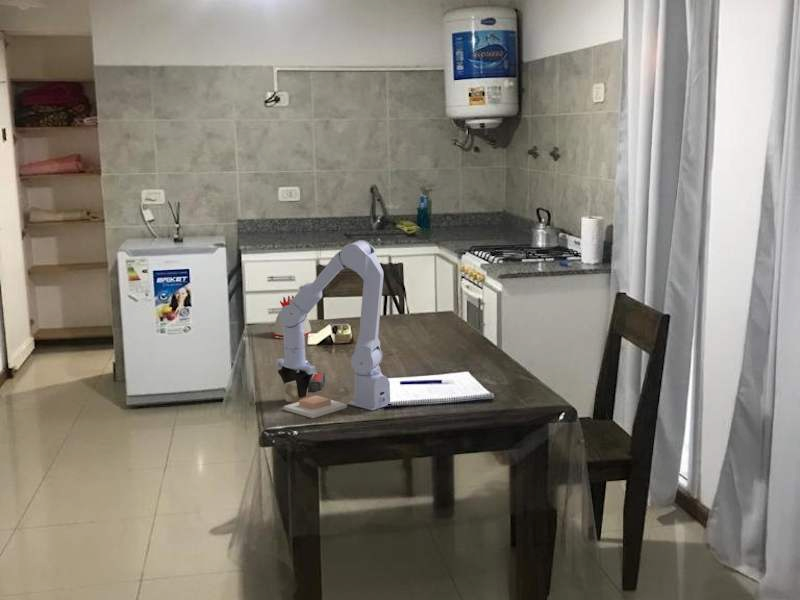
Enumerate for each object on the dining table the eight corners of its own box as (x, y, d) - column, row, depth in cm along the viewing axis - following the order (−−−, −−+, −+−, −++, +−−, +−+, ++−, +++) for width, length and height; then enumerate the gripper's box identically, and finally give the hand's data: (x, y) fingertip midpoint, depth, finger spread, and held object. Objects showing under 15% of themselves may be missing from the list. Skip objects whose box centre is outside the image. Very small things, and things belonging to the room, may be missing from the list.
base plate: (347, 407, 249) (346, 398, 248) (312, 418, 240) (312, 408, 240) (317, 399, 257) (317, 391, 257) (283, 409, 249) (283, 400, 248)
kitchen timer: (269, 334, 347) (267, 294, 344) (304, 330, 352) (302, 291, 350) (280, 341, 334) (278, 300, 332) (316, 337, 340) (314, 296, 337)
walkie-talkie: (297, 381, 279) (288, 399, 259) (296, 366, 278) (288, 384, 259) (326, 380, 279) (320, 399, 259) (325, 366, 278) (319, 383, 259)
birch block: (308, 400, 257) (307, 382, 256) (295, 403, 254) (294, 385, 253) (298, 397, 260) (297, 380, 259) (285, 400, 257) (284, 383, 256)
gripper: (323, 348, 252) (324, 396, 255) (289, 341, 262) (291, 387, 265) (303, 353, 247) (305, 402, 250) (269, 345, 257) (271, 393, 260)
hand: (296, 395), depth 257 cm, fingers closed on birch block, 4 cm apart
